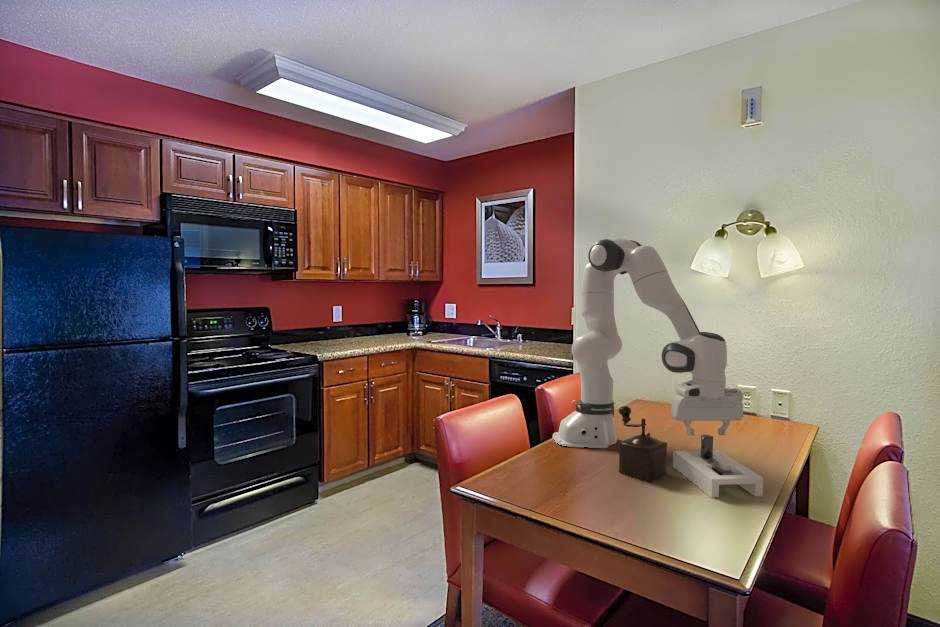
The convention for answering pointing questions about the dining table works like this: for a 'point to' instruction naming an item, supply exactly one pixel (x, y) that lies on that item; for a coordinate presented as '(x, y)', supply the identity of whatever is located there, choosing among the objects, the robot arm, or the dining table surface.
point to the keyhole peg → (707, 448)
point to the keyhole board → (710, 480)
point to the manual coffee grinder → (641, 453)
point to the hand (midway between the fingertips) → (705, 434)
